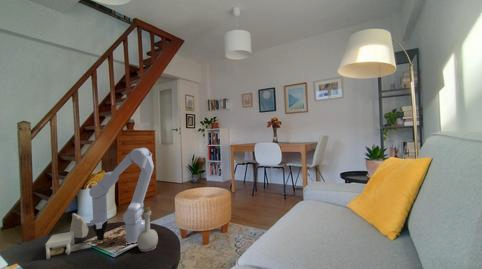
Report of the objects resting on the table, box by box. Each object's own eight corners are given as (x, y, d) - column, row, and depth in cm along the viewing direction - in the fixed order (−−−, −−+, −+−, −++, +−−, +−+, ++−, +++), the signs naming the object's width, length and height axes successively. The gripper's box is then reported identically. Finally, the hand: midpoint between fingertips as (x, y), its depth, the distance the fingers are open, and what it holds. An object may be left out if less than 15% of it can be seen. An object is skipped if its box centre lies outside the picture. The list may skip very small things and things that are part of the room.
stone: (89, 235, 116) (89, 212, 116) (79, 239, 111) (78, 216, 111) (77, 232, 120) (77, 210, 120) (67, 236, 116) (66, 213, 116)
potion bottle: (151, 253, 95) (150, 210, 95) (132, 251, 97) (131, 210, 97) (162, 243, 104) (161, 204, 104) (145, 242, 106) (144, 203, 106)
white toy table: (74, 244, 106) (73, 231, 106) (70, 254, 97) (69, 239, 97) (52, 249, 102) (52, 235, 102) (46, 259, 93) (45, 244, 93)
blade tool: (104, 240, 110) (104, 226, 110) (103, 244, 105) (103, 230, 105) (67, 247, 103) (67, 233, 103) (65, 252, 98) (65, 237, 98)
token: (65, 249, 102) (65, 246, 102) (62, 254, 98) (62, 251, 98) (51, 252, 100) (51, 249, 100) (47, 257, 96) (47, 254, 96)
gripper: (91, 207, 111) (92, 235, 111) (87, 216, 98) (88, 247, 98) (108, 204, 115) (109, 231, 115) (106, 213, 102) (107, 243, 102)
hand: (100, 238), depth 107 cm, fingers closed on blade tool
